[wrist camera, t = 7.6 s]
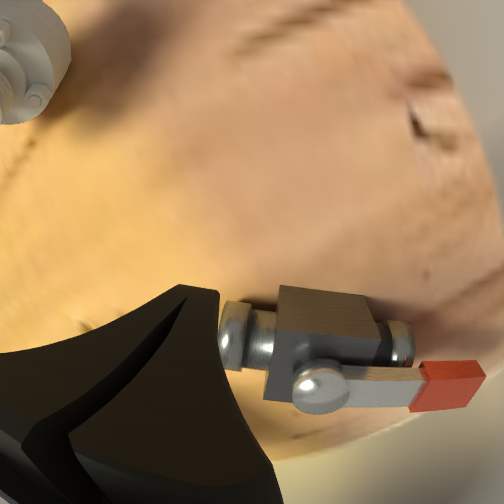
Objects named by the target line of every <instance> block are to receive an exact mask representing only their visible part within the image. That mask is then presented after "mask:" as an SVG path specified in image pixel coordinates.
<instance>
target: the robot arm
mask: <svg viewBox="0 0 504 504" xmlns="http://www.w3.org/2000/svg"><path fill="white" fill-rule="evenodd" d="M219 302H220V294H219V292H218V291H217V290H212V289H206V288H200V287H194V286H188V285H182V284H178V285H176V286H174V287H173V288H171V289H169V290H168V291H166V292H164V293H163V294H161V295H159V296H158V297H156V298H154V299H153V300H151V301H149V302H147V303H146V304H144V305H142V306H141V307H139V308H137V309H135V310H133V311H131V312H129V313H128V314H126V315H124V316H122V317H120V318H118V319H116V320H114V321H112V322H110V323H108V324H106V325H104V326H101V327H99V328H97V329H94V330H92V331H89V332H87V333H84V334H82V335H79V336H76V337H73V338H69V339H66V340H63V341H59V342H56V343H53V344H49V345H46V346H41V347H37V348H32V349H27V350H21V351H15V352H8V353H0V497H2V498H3V499H4V500H6V501H7V502H8V503H10V504H284V503H283V498H282V494H281V491H280V488H279V485H278V481H277V478H276V475H275V472H274V468H273V465H272V463H271V461H270V460H269V459H268V457H267V456H266V454H265V453H264V451H263V450H262V448H261V447H260V445H259V443H258V442H257V440H256V439H255V437H254V435H253V434H252V432H251V430H250V428H249V426H248V425H247V423H246V421H245V419H244V417H243V415H242V413H241V411H240V409H239V406H238V404H237V402H236V400H235V397H234V395H233V393H232V390H231V388H230V385H229V382H228V379H227V377H226V374H225V370H224V367H223V363H222V360H221V356H220V351H219V346H218V341H217V335H218V318H219Z"/></svg>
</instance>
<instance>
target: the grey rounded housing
mask: <svg viewBox="0 0 504 504" xmlns="http://www.w3.org/2000/svg"><path fill="white" fill-rule="evenodd" d="M71 60H72V56H71V44H70V39H69V35H68V32H67V30H66V27H65V25H64V23H63V22H62V20H61V19H60V17H59V16H58V15H57V14H56V13H55V11H54V10H53V9H52V8H51V7H49V6H48V5H46V4H45V3H43V2H42V0H0V125H1V124H4V125H12V124H20V123H23V122H27V121H29V120H31V119H33V118H35V117H36V116H38V115H39V114H40V113H41V112H42V111H43V110H44V109H45V108H46V107H47V105H48V103H49V101H50V100H51V98H52V96H53V94H54V93H55V91H56V89H57V88H58V86H59V84H60V82H61V81H62V79H63V77H64V76H65V74H66V72H67V69H68V67H69V64H70V63H71Z"/></svg>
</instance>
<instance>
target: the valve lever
mask: <svg viewBox="0 0 504 504" xmlns="http://www.w3.org/2000/svg"><path fill="white" fill-rule="evenodd" d="M485 378H486V375H485V373H484V372H483V370H482V368H481V367H480V365H479V364H478V362H477V361H476V360H466V361H422V362H421V364H420V366H419V368H395V367H367V366H349V365H342V364H340V363H339V362H337V361H335V360H332V359H324V358H322V359H314V360H311V361H308V362H306V363H304V364H302V365H301V366H299V367H298V368H297V369H296V371H295V372H294V374H293V395H292V400H293V404H294V405H295V407H296V408H297V409H299V410H300V411H302V412H304V413H308V414H314V415H320V414H327V413H331V412H333V411H336V410H338V409H339V408H341V407H409V410H410V413H411V412H425V411H436V410H445V409H454V408H461V407H466V406H467V404H468V403H469V401H470V400H471V399H472V397H473V396H474V394H475V393H476V391H477V390H478V389H479V387H480V386H481V384H482V383H483V381H484V380H485Z"/></svg>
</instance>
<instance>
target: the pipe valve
mask: <svg viewBox="0 0 504 504" xmlns="http://www.w3.org/2000/svg"><path fill="white" fill-rule="evenodd" d="M217 341H218V346H219V351H220V356H221V360H222V363H223V367H224V369H226V370H232V371H238V372H241V370H242V368H248V369H255V370H262V371H266V376H265V386H264V395H263V400H271V401H280V402H289V403H293V400H292V395H293V374H294V372H295V371H296V369H297V368H298V367H299V366H301V365H302V364H304V363H306V362H308V361H311V360H314V359H322V358H324V359H332V360H335V361H337V362H339V363H340V364H342V365H349V366H367V367H395V368H412V364H413V361H414V355H415V337H414V332H413V329H412V327H411V325H410V324H409V323H408V322H406V321H398V320H386V319H384V320H381V321H380V322H379V323H375V321H374V319H373V317H372V314H371V312H370V309H369V307H368V305H367V302H366V300H365V298H364V296H362V295H353V294H345V293H336V292H328V291H320V290H313V289H305V288H297V287H290V286H282V285H280V287H279V293H278V299H277V304H276V310H275V312H273V311H266V310H258V309H252V308H251V304H249V303H242V302H235V301H229V300H227V301H226V302H225V305H224V308H223V311H222V315H221V320H220V325H219V330H218V337H217Z"/></svg>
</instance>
